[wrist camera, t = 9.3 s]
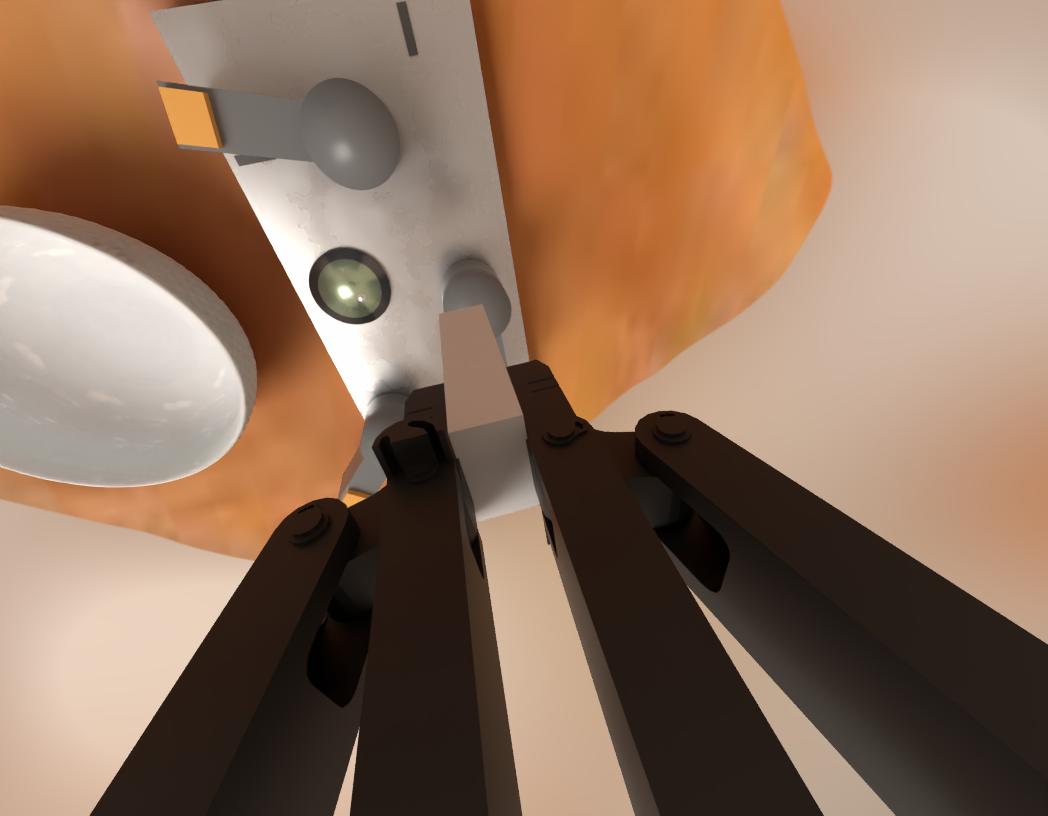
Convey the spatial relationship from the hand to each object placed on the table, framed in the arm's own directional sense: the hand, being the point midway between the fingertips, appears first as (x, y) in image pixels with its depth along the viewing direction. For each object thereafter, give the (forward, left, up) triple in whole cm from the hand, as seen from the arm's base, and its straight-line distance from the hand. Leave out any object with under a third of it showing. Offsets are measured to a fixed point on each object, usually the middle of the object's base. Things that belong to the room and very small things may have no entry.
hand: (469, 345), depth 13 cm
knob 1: (-7, -6, -16) cm, 18 cm away
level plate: (+2, -3, -18) cm, 18 cm away
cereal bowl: (+2, -22, -18) cm, 29 cm away
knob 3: (+6, +1, -16) cm, 17 cm away
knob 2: (+15, -10, -16) cm, 24 cm away
